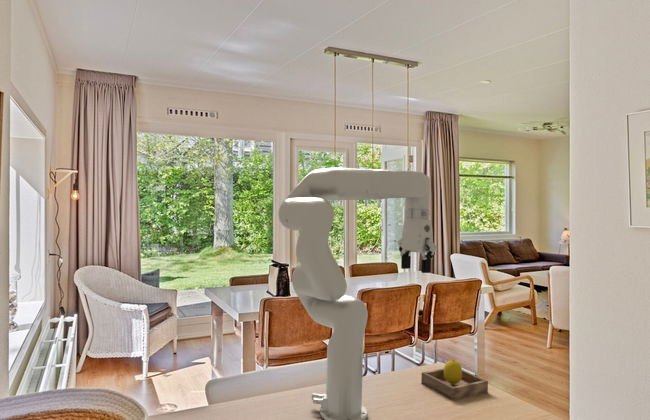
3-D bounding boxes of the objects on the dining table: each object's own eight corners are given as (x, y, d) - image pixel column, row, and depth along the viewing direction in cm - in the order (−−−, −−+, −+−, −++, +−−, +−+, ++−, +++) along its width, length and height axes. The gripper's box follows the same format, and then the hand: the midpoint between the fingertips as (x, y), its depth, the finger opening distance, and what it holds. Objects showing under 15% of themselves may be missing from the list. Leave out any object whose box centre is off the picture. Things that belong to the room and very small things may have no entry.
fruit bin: (452, 400, 129) (453, 388, 129) (421, 383, 141) (421, 372, 141) (487, 392, 136) (487, 381, 136) (454, 376, 148) (454, 366, 148)
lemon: (462, 389, 135) (462, 363, 135) (443, 387, 137) (443, 361, 137) (461, 382, 141) (461, 357, 141) (443, 381, 142) (443, 355, 142)
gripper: (445, 216, 132) (444, 273, 132) (409, 214, 147) (407, 266, 147) (426, 215, 128) (424, 275, 128) (390, 214, 144) (389, 267, 144)
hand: (415, 270), depth 138 cm, fingers open, 9 cm apart
